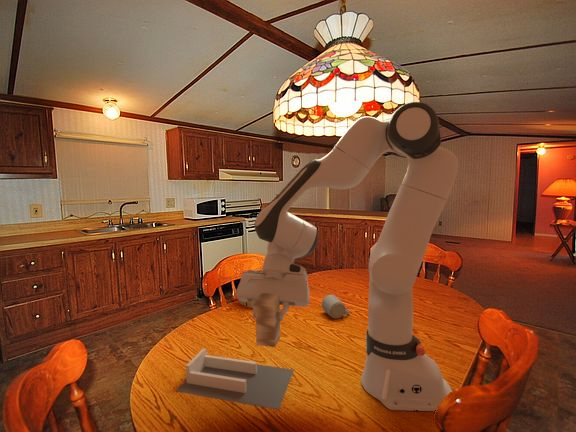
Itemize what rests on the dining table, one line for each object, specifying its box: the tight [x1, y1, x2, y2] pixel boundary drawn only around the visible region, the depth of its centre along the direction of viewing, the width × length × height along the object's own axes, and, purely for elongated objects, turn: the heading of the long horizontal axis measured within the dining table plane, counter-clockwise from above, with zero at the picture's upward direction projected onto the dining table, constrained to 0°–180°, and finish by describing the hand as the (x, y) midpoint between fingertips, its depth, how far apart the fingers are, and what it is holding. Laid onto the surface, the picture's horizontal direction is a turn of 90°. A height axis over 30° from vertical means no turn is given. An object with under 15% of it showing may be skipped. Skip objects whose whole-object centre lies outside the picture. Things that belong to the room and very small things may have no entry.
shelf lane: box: [175, 347, 295, 410], centre depth 83 cm, size 28×16×6 cm, turn 76°
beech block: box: [255, 293, 281, 348], centre depth 79 cm, size 5×5×12 cm
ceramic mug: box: [321, 294, 350, 320], centre depth 124 cm, size 11×8×8 cm
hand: (267, 318), depth 78 cm, fingers closed on beech block, 5 cm apart
